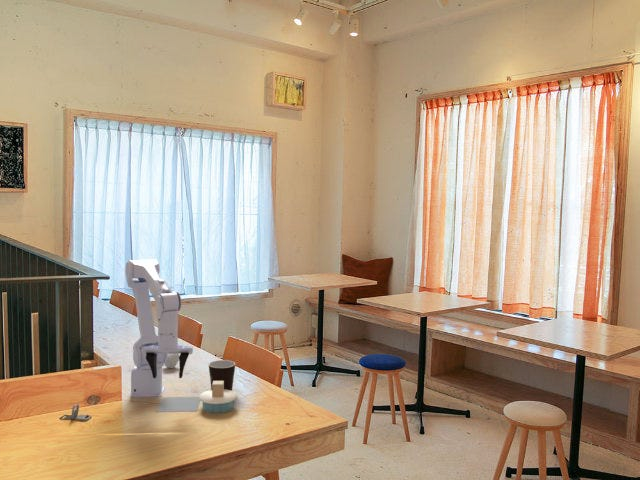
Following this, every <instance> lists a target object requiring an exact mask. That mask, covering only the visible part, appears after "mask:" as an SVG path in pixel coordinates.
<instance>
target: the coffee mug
mask: <svg viewBox="0 0 640 480" xmlns="http://www.w3.org/2000/svg"><path fill="white" fill-rule="evenodd" d="M235 370H236V362H235V361H232V360H228V359H227V360H226V359H219V360H213V361H211V362H209V363H208V371H209V379H210V390H212V384H213V381H224V389H226V390H231V391H233V386H234V380H235V379H234V377H235Z"/></svg>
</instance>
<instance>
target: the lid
mask: <svg viewBox="0 0 640 480" xmlns="http://www.w3.org/2000/svg"><path fill="white" fill-rule="evenodd" d="M199 397H200V402H202V403H203V402H205V403H209V404H223V403H228V402H231V401H233V402H234V401H235V400H236V398H237V393H236V392H235V391H233V390H232V391H231V390H226V389H224V381H213V384H212V390H211V389H209V390H205V391H204V392H201V393H200V394H199Z"/></svg>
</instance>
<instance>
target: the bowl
mask: <svg viewBox="0 0 640 480" xmlns="http://www.w3.org/2000/svg"><path fill="white" fill-rule="evenodd" d="M233 409H234V400H233V401H231V402H228V403H223V404H209V403H205V402H202V410H203V411H204V412H206V413H209V414H222V413H227V412H229V411H231V410H233Z"/></svg>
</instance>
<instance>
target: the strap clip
mask: <svg viewBox="0 0 640 480" xmlns="http://www.w3.org/2000/svg"><path fill="white" fill-rule="evenodd" d="M79 410H80V405H79V403H77V404H76V403H75V404H74V405H73V406H72V409H71V414H63V415H62V416H61V417H59V418H58V419H59V420H60V421H61V420H62V421H63V420H64V421H72V420H74V421H80V422H87V421H89V420H91V419H92V415H91V414H90V415H89V414H79Z"/></svg>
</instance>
